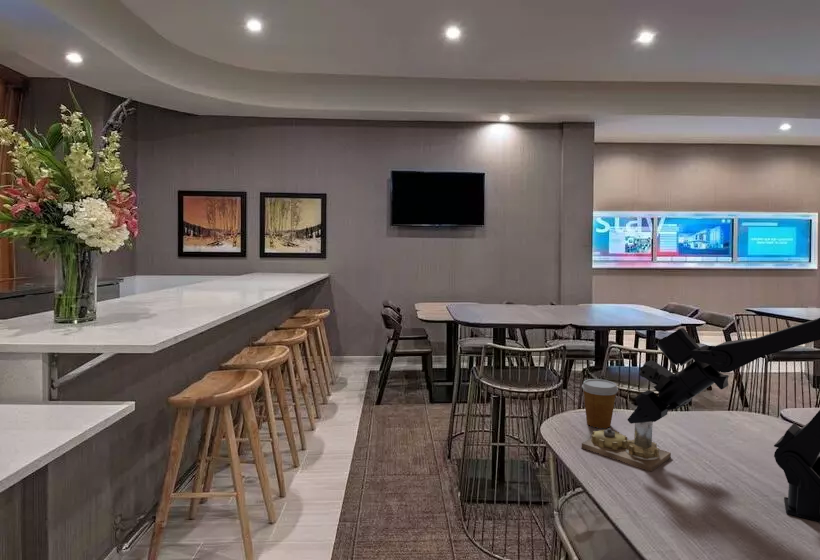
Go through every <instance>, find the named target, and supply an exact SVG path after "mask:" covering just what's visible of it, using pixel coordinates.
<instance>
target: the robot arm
mask: <svg viewBox="0 0 820 560" xmlns="http://www.w3.org/2000/svg"><path fill="white" fill-rule="evenodd" d="M819 340H820V317H818V318H814V319H811V320H808V321H806V322H802V323H799V324H797V325H793V326H790V327H786V328H783V329H781V330H777V331H774V332H771V333H767V334H765V335H761V336H758V337H752V338H744V339H743V338H741V339H735V340H729V341H724V342H722V343H720V344H717V345H702V346H699V344H697V343H696V340H694V339H693V338H692V337H691V335H689V333H688V331H687V330H686V329H685V328H684V327H680V328H678V329H677V330H675V331H673V332H672V333H670V334H669V335H667V336H663V337H662V338H661V339H660V340H659V341H657V343H656V344H655V345H656V346H657V348H658V349H660V351H661V352H662V353H663V354H664V356H665V357H666V358H667V359H668V361H670V363H671V364H672V365H675V366H677V365H679V366H680V367H682V366H684V365H686V364H687V363H689V362H690V361H692V360H693V361H692V362H691V363H690V364H688V365H687V366H686V367H683V369H681V370H680V371H676V372H675V373H672V372H671V371H670V370H669V369H667V368H666V367H664V366H663V365H661V364H660V363H658V362H656V361H655V360H652V359H651V360H649V361H646V362H644V364H643V365H642V366H641V367H639V372H638V375H639V376H640V377H641V378H644V379H646V380H647V381H649V382H651V383H653V384H654V386H653V388H654V390H655V391H656V392H658V395H657V394H656V392H655V391H652V390H648V389H647V390H645V391H643V392H641V393H639V394H638V395H637V396H635V397H634V398H635V402H636V404H637V407H635V408H636V409H635V410H634V411H633V412H632V413H631V415H630V416H629V417H628V418H627V421H628V422H629V424H635V423H641V422H653V423H655V422H657V421H660V420H661V419H662V418H664V417H666V416H667V415H668V411H672V410H676V409H679V408H681V407H683V406H685V405H687V404H688V403H690V402H691V401H692V398H695V397H696V396H697V395H699V394H700V393H701V392H703V391H705V390H706V389H708V388H709V387H711V386H712V385H714V384H715V385H716V386H717V387H718V389H719V390H724V389H726V388H727V387H729V377H730V376H729V375H728V373H731V372H733V371H735V370H738V369H740V368H742V367H744V366H746V365H748V364H750V363H752V362H753V361H755V360H758V359H759V358H762V357H764V356H765V357H766V356H768V355H773V354H775V353H779V352H782V351H786V350H788V349H792V348H796V347H798V346H803V345H806V344H809V343H813V342H816V341H819ZM726 373H727V374H726ZM773 447H774V448H776V449H775V451H774V454H773V455H774V456H773V457H774V460H775V462H776V464H777V465H778V467H779V468H780V469H782V470H783V473H784V476H785V478H786V480H787V483H788V493H787V497H786V496H784V497H783V501H784V502H783V503H784V508H785V509H784V510H785V513H786V514H787V515H791V516H793V517H799V518H804V519H806V520H811V521H816V522H817V523H820V409H819V410H818V411H817V413H815V415H814V416H813V417H812V419H810V421H809V422H808V423H806V424H805V425H804V426H801V427H800V426H799V425H798V424H797V423H795V422H794V423H792V424H791V426H789V427H788V428H787V430H786V431H785V433H784V434H783V436H781V437H780V439H778V441H777V442H776V443H774V445H773Z"/></svg>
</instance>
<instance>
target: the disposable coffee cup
mask: <svg viewBox="0 0 820 560" xmlns="http://www.w3.org/2000/svg"><path fill="white" fill-rule="evenodd" d="M581 389H582V390H583V398H584V399H583V400H584V409H585V416H586V424H587V425H588V426H589V425H590V427H591V426H593V427H592V428H595V427H598V428H597V429H601V428H604V429H608V427H609V428H611V426H612V425H611V424H612V418H613V413H614V407H615V402H616V395H617V392H618V391H619V388H618V387H617V383H616V382H613V381H610V380H607V379H606V380H605V379H602V378H589V379H585V380H584V381H583V383H582V385H581Z"/></svg>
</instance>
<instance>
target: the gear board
mask: <svg viewBox="0 0 820 560" xmlns="http://www.w3.org/2000/svg"><path fill="white" fill-rule="evenodd" d="M628 440H629V439H628V436H627V435H623V434H622V433H620V432H619V431H616V430H612V428H611V427H609V428H606V429H601V430H593V431H592V434H591V437H590V438H589V439H587V440H585V441H583V442H582V443H581V449H583V450H587V451H589V450H590V452H592V451H593V453H595V452H597V453H596V454H598V453H599V455H601V456H605V457H607V458H610V457H611V458H610V459H613V458H614V459H613V460H616V459H617V460H616V461H618V460H620V461H619V462H621V461H623V462H622V463H624V462H625V464H627V463H628V465H630V464H631V465H630V466H633V467H636V468H640V469H643V470H644V471H647V472H653V471H654V470H656V469H657V468H658V467H660V466H661V465H662V464H664V463H665V462H666V461H668V460H669V459H671V456H672V453H671V452H669V451H667V450H663V449H660V448H659V457H658V458H657V457H654V458H648V459H644V458H642V457H638V456H635V455H631V454H629V449H627V441H628Z"/></svg>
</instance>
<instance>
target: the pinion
mask: <svg viewBox="0 0 820 560" xmlns="http://www.w3.org/2000/svg"><path fill="white" fill-rule="evenodd" d="M636 408H637V407H635V409H636ZM653 424H654V422H641V423H634V433H633V435H634V439H631V440H630V439H628V441H627V449H629V454H631V455H635V456H638V457H642V458H644V459H648V458H654V457H657V458H658V457H659V449H660V448H658V445H657V443H656V442H654V441H653V427H654V425H653Z"/></svg>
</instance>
